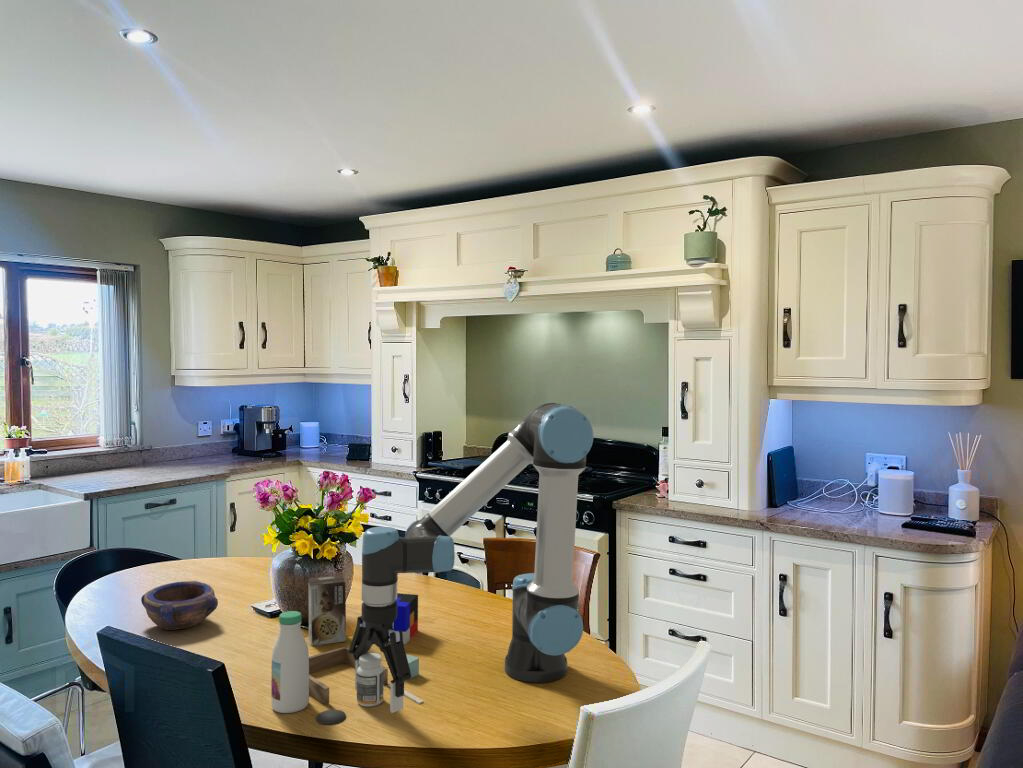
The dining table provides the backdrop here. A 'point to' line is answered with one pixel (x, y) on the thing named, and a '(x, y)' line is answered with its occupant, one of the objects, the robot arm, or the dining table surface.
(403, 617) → the puzzle toy
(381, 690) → the pill bottle
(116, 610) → the dining table surface
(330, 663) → the cubby
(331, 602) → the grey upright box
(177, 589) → the bowl
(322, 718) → the drain disc
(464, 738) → the dining table surface
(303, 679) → the milk bottle
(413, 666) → the teal block
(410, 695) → the strip
